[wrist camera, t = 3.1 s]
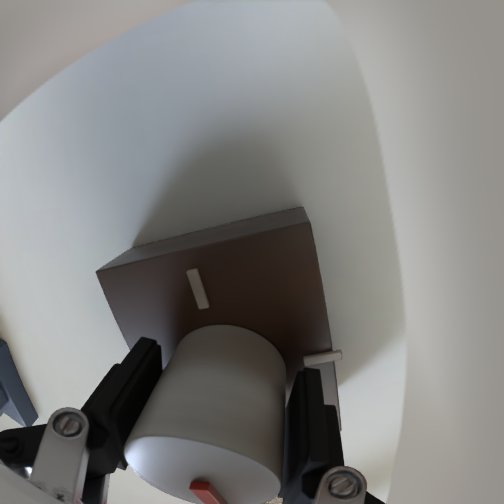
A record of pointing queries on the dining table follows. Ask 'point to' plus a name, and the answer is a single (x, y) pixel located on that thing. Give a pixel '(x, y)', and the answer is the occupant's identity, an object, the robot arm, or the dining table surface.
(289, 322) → the dial panel
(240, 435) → the dial knob
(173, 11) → the dining table surface
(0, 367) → the button box
